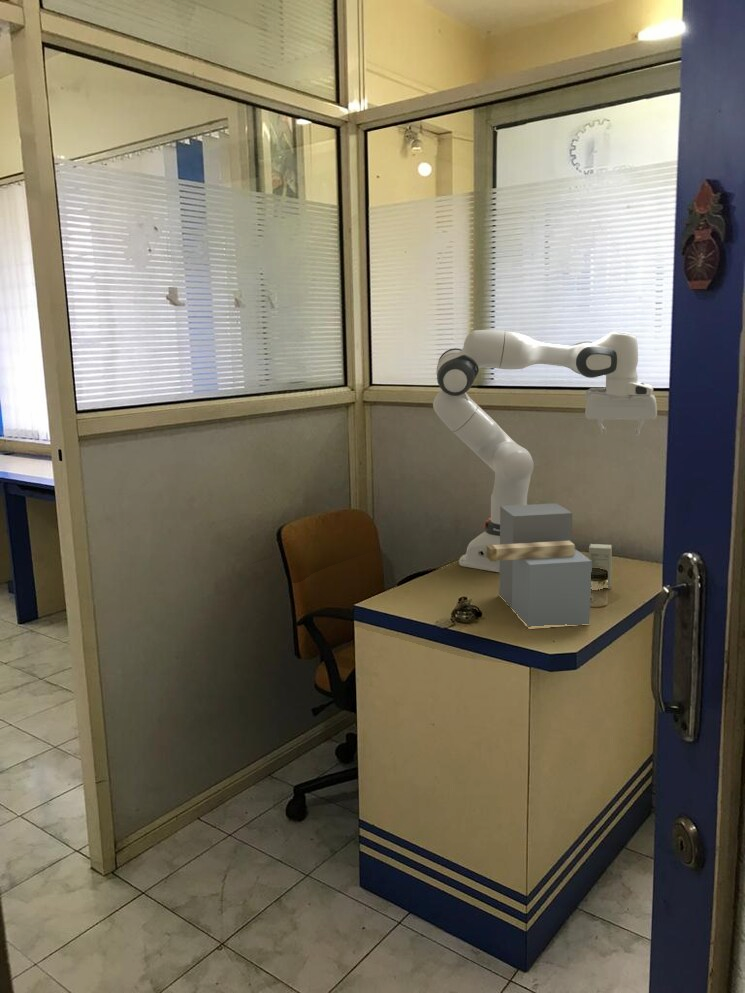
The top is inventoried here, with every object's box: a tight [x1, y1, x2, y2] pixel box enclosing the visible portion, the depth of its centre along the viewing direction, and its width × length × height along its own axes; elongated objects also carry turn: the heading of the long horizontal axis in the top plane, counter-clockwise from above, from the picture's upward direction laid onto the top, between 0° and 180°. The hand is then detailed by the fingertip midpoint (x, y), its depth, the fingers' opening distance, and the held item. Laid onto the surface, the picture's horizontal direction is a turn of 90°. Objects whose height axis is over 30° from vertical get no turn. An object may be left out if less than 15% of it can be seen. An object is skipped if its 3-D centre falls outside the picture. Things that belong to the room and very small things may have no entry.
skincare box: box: [588, 543, 613, 590], centre depth 236 cm, size 6×4×12 cm
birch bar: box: [486, 541, 576, 561], centre depth 209 cm, size 22×4×3 cm, turn 98°
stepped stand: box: [498, 502, 592, 627], centre depth 217 cm, size 16×26×26 cm, turn 8°
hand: (620, 434), depth 243 cm, fingers open, 8 cm apart
